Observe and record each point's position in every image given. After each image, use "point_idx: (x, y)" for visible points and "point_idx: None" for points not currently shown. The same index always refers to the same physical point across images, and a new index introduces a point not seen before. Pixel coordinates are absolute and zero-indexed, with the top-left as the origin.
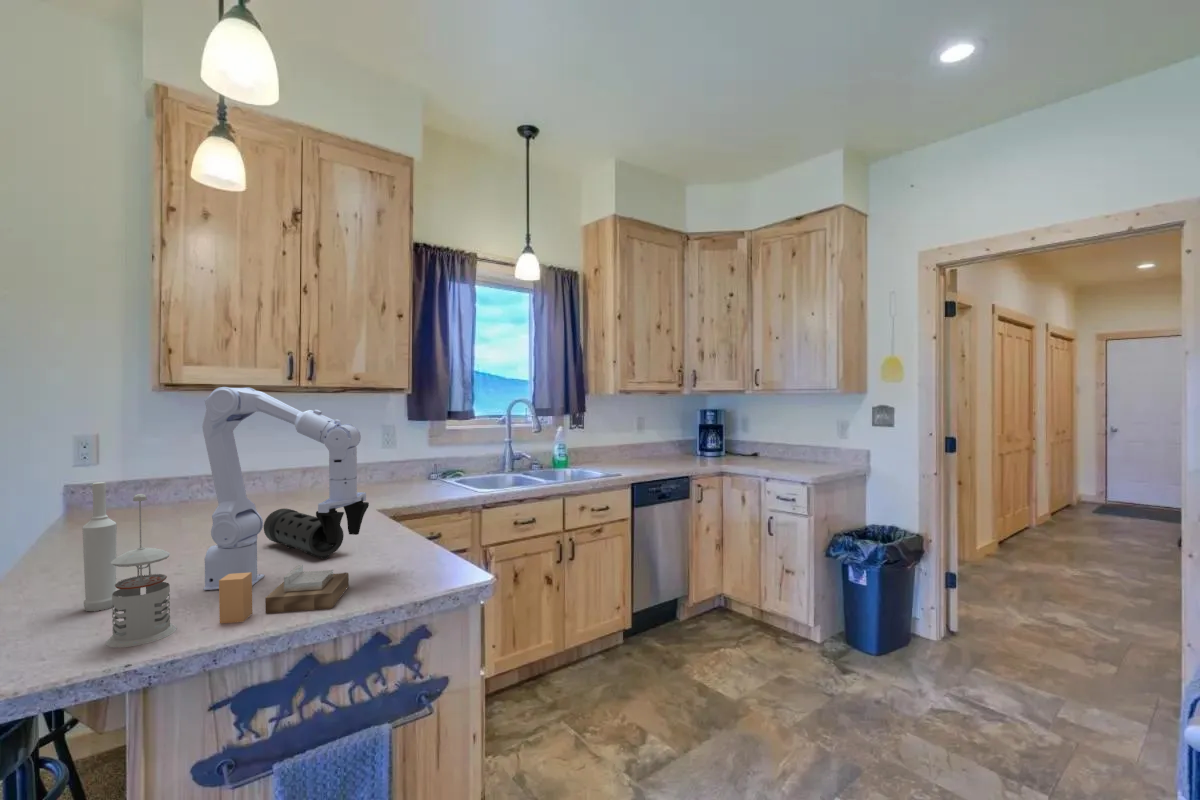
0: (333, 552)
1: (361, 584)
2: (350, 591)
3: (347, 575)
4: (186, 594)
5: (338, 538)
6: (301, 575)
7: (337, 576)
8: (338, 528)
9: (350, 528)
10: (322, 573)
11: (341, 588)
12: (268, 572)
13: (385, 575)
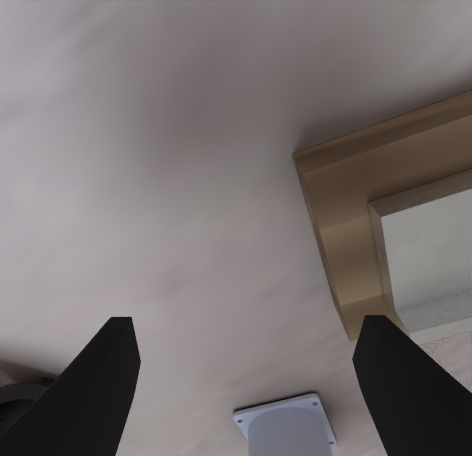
0: (21, 384)
1: (261, 116)
2: (349, 110)
3: (319, 165)
4: (354, 450)
5: (384, 332)
6: (448, 288)
7: (356, 190)
8: (460, 410)
9: (125, 395)
10: (434, 228)
11: (416, 121)
12: (199, 420)
13: (125, 74)
